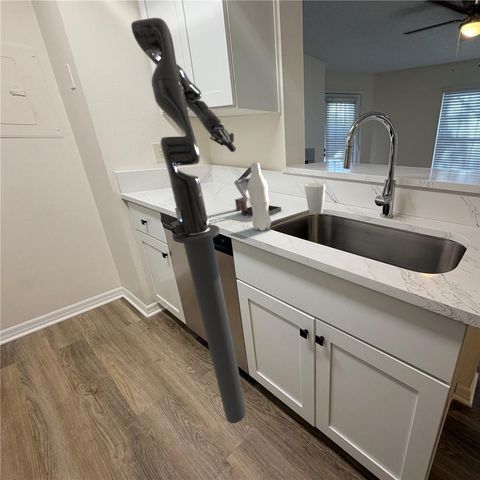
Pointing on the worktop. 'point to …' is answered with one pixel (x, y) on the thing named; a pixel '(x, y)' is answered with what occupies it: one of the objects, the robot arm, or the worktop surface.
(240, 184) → the gray angle bracket
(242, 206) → the cradle
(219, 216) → the worktop surface
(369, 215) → the worktop surface
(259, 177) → the water bottle
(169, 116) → the robot arm
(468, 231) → the worktop surface
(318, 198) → the foam cup
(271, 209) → the tray
